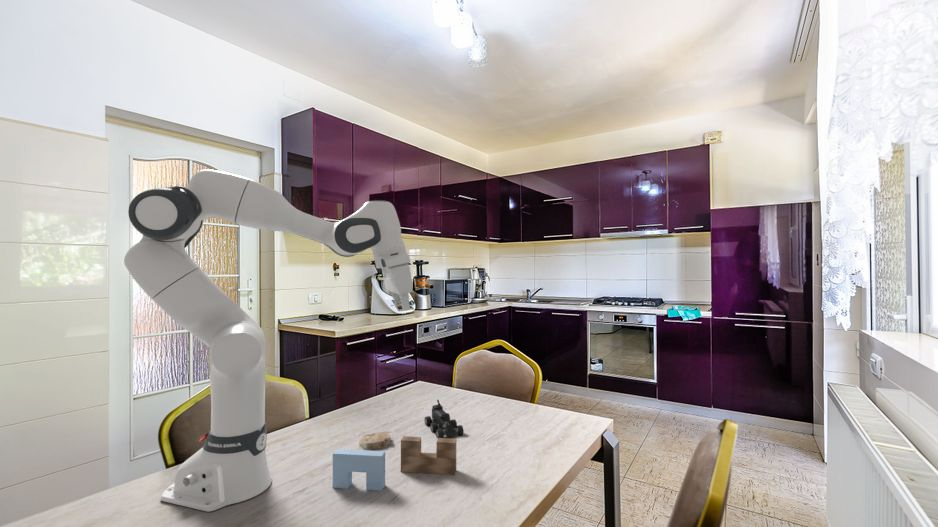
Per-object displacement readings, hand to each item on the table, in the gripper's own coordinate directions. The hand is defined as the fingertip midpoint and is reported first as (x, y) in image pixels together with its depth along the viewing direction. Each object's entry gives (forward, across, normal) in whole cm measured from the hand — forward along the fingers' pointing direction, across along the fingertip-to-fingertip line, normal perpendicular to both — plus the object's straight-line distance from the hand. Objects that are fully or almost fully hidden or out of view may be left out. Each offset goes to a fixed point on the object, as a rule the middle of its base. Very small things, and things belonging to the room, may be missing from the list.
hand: (402, 307), depth 111 cm
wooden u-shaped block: (+41, +10, -5) cm, 42 cm away
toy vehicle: (+45, -14, +6) cm, 47 cm away
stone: (+39, -11, -15) cm, 44 cm away
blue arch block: (+37, +11, -22) cm, 44 cm away
